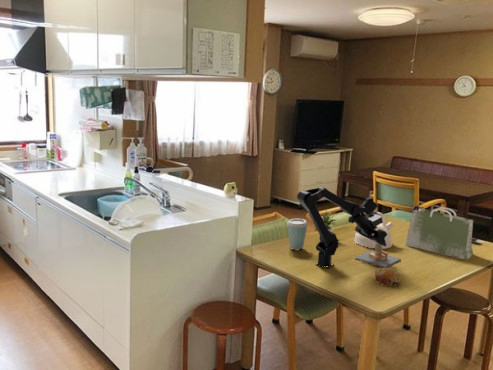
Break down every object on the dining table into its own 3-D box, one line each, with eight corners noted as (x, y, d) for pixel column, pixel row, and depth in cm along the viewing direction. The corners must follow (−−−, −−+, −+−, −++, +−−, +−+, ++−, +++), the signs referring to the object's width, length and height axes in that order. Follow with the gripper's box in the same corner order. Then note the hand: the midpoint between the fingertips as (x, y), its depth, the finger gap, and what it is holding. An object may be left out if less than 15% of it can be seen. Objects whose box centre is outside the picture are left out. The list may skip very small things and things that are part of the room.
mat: (385, 268, 207) (385, 266, 207) (354, 258, 218) (355, 257, 218) (400, 260, 218) (400, 258, 218) (371, 252, 229) (371, 250, 229)
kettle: (397, 250, 235) (401, 217, 231) (358, 248, 235) (361, 215, 232) (386, 238, 255) (389, 208, 251) (350, 237, 255) (353, 206, 252)
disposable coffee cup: (299, 253, 223) (301, 224, 221) (281, 248, 230) (283, 220, 227) (309, 248, 232) (311, 220, 229) (292, 243, 238) (293, 216, 235)
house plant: (316, 242, 241) (318, 213, 238) (306, 235, 254) (308, 207, 251) (340, 241, 245) (342, 212, 242) (328, 234, 258) (331, 207, 255)
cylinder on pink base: (374, 260, 215) (377, 234, 212) (368, 257, 219) (370, 231, 217) (387, 259, 217) (389, 233, 215) (380, 255, 222) (383, 230, 219)
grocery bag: (473, 253, 233) (479, 211, 229) (467, 260, 223) (473, 215, 219) (412, 240, 253) (417, 200, 249) (404, 245, 242) (408, 204, 238)
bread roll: (395, 287, 195) (393, 268, 197) (404, 286, 185) (402, 267, 187) (372, 286, 194) (371, 268, 196) (380, 286, 184) (379, 266, 186)
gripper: (385, 214, 203) (403, 236, 209) (362, 205, 220) (378, 225, 226) (369, 232, 202) (387, 253, 208) (347, 221, 219) (364, 241, 225)
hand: (379, 242), depth 217 cm, fingers open, 9 cm apart
